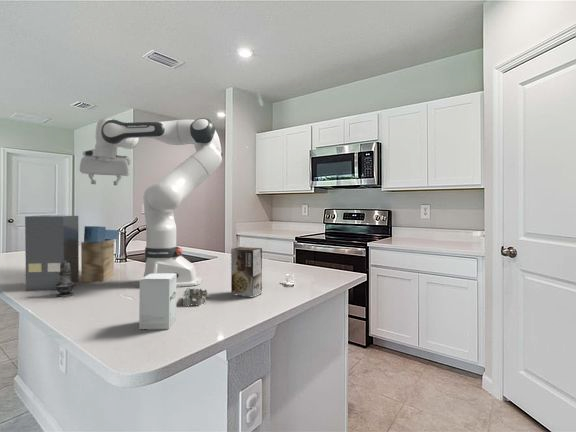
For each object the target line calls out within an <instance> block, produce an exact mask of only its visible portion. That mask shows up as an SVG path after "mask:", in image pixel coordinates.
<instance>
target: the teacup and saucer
mask: <svg viewBox="0 0 576 432" xmlns="http://www.w3.org/2000/svg"><path fill="white" fill-rule="evenodd" d="M294 278H295V274H293V273H288V274H287V273H286V275H285V282H287V283H284V285H285V284H286V285H293V284H294V285H295V283H290V282H294Z"/></svg>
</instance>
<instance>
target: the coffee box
mask: <svg viewBox="0 0 576 432" xmlns="http://www.w3.org/2000/svg"><path fill="white" fill-rule="evenodd" d="M230 250H231V251H230V263H231V265H230V268H231V270H230V272H231V274H230V275H231V279H230V280H231V281H230V282H231V284H230V285H231V287H230V288H231V290H230V291H231V294H237V295H236V296H238V295H244V296H243V297H245V296H255V295H257V294H259V293H261V292H262V291H263V284H262V283H263V282H262V281H263V279H262V278H263V277H262V276H263V248H262V247H252V246H250V247H248V246H239V247H235V248H230ZM262 293H263V292H262ZM231 294H230V295H231Z"/></svg>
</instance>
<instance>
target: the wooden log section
mask: <svg viewBox="0 0 576 432" xmlns="http://www.w3.org/2000/svg"><path fill="white" fill-rule="evenodd" d="M114 240H115V239H105V242H84V241H82V242H81V243H80V244H81V245H80V248H81V249H80V250H81V256H80V257H81V258H80V259H81V260H80V261H81V268H80V269H81V274H80V275H81V276H80V278H81V282H84V283H86V282H104V281H106V280H107V279H109V278H111V277H113V276H114V274H115V272H114V271H115V270H114V269H115V259H114V257H115V256H114V254H115V250H114V249H115V243H114V242H115V241H114Z"/></svg>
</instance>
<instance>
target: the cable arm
mask: <svg viewBox="0 0 576 432" xmlns="http://www.w3.org/2000/svg"><path fill="white" fill-rule="evenodd" d="M106 228H107V227H106V226H99V225H98V226H97V225H96V226H95V225H93V226H91V225H84V232H83V233H84V234H83V242H105V239H114V240H119V230H118V229H117V230H116V229H106Z"/></svg>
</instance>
